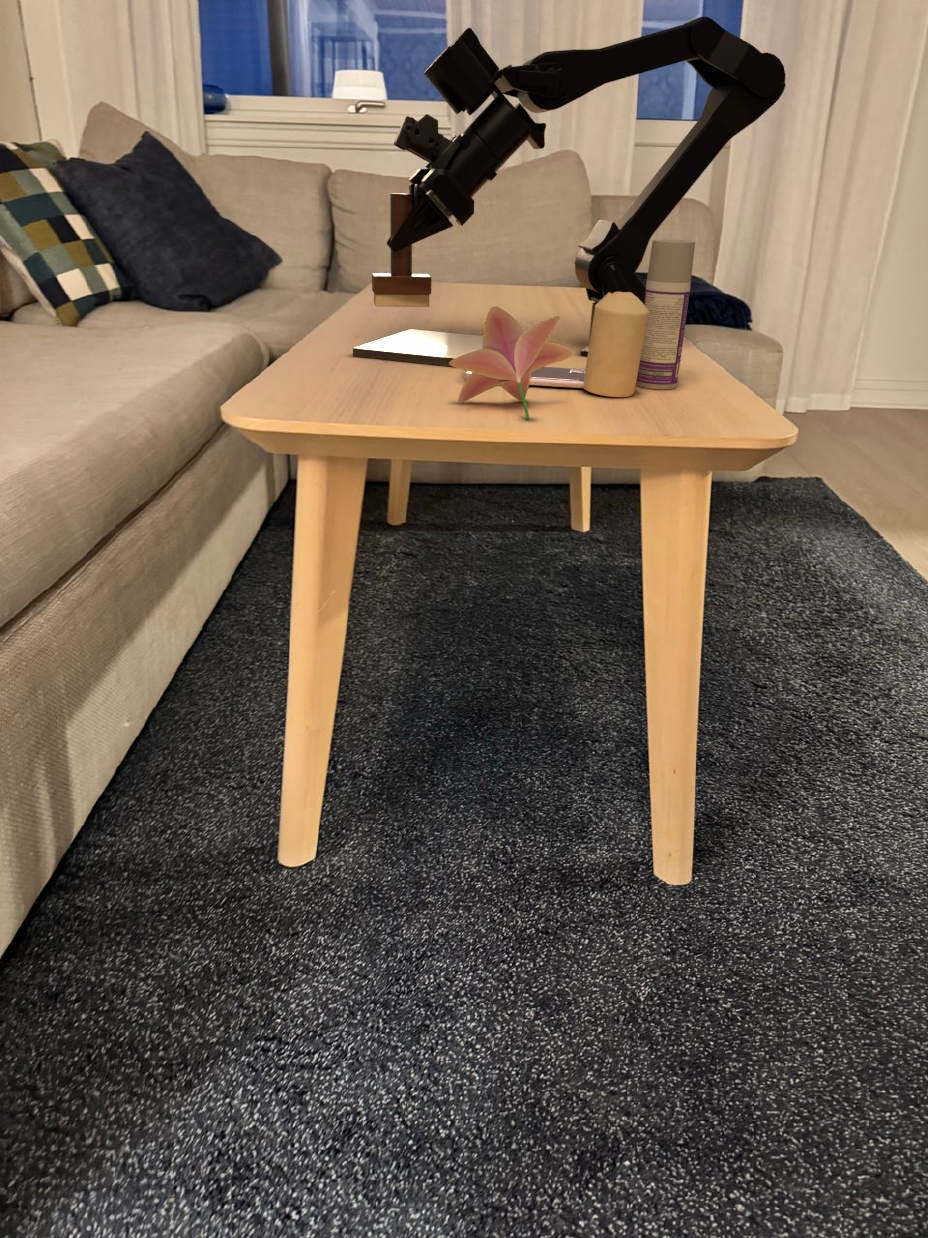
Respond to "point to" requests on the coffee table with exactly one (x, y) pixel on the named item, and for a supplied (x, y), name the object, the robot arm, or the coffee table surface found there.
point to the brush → (401, 267)
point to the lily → (508, 356)
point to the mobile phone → (555, 377)
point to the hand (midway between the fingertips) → (390, 247)
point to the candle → (615, 345)
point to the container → (665, 312)
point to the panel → (421, 347)
